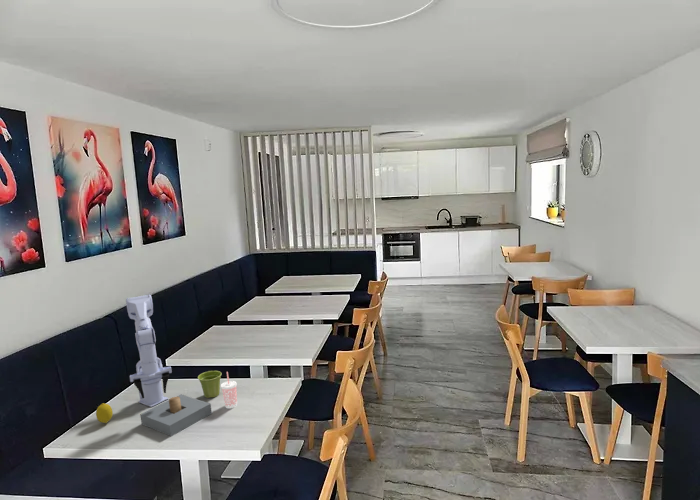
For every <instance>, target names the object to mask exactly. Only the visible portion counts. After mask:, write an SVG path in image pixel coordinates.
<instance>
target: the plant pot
mask: <svg viewBox="0 0 700 500" xmlns="http://www.w3.org/2000/svg"><path fill="white" fill-rule="evenodd" d="M221 376H222V372H221V371H219V370H208V371H205V372H202V373H200V374H199V375H198V376H197V379H198V381H199V382H200V385H201V388H202V392H203V396H204V397H205V398H206V399H209V398H216V397H218V396H219V395H220V391H221V390H220V389H221V378H222V377H221Z"/></svg>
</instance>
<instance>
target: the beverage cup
mask: <svg viewBox="0 0 700 500" xmlns="http://www.w3.org/2000/svg"><path fill="white" fill-rule="evenodd" d="M226 378H227V381H224V382H222V383H220V389H221V391H222V396H223V402H224V407H225V408H226V409H234V408H236V407H237V406H238V394H237V393H238V392H237V391H238V390H237V385H238V383H237V381H235V380H230V377H229V372H228V371H226Z"/></svg>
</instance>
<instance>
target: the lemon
mask: <svg viewBox="0 0 700 500" xmlns="http://www.w3.org/2000/svg"><path fill="white" fill-rule="evenodd" d="M95 416H96V419H97V421H98V422H99V423H104V424H107V423H108V422H109V421H110V420H112V418H113V408H112V406H111V405H110V404H109V403H104V402H103V403H101V404H100V405H99V406H97V409H96V412H95Z"/></svg>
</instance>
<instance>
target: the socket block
mask: <svg viewBox="0 0 700 500" xmlns="http://www.w3.org/2000/svg"><path fill="white" fill-rule="evenodd" d="M176 397H180V402H181V409H182V410H180V411H179V412H177V413H175V414H173V413H170V406H169V400H165V402H164V401H163V402H161V403H159V404H157V406H156V405H155V406H153V407H152V408H150V409H148V410H146V411H144V412H142V413H140V420H141V425H142V426H145V427H147V428H150V429H152V430H155V431H157V432H160V433H162V434H165V435H167V436H170V437H173V436H174V435H176V434H178V433H180V432H181V431H183V430H185V429H187V428H189V427H190V426H192V425H193V424H195V423H197V422H199V421H201V420H202V419H205V418H207V417H208V416H210V415H211V414H213V412H212V404H211V403H209V402H207V401H203V400H200V399H197V398H194V397H191V396H188V395H184V394H178V395H177V396H176Z"/></svg>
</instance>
